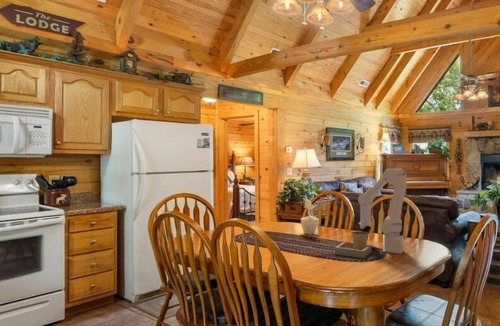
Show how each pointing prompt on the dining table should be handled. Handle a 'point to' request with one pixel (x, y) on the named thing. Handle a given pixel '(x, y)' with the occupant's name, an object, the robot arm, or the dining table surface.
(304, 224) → the potted plant
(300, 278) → the dining table surface
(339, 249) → the pot holder
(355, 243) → the flower pot
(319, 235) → the dining table surface
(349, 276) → the dining table surface
